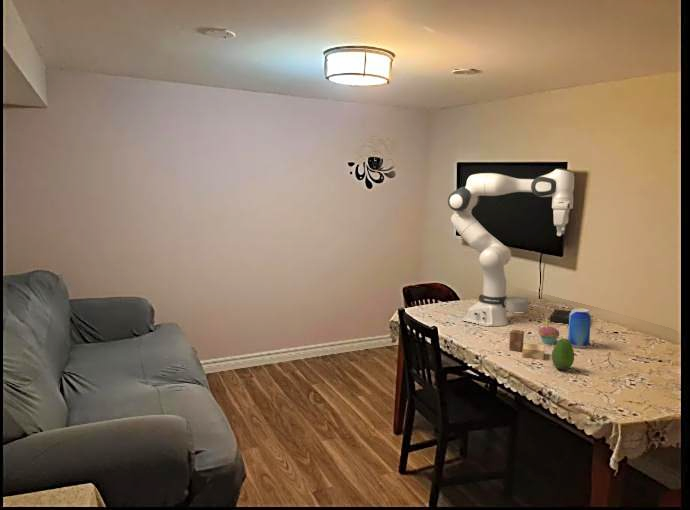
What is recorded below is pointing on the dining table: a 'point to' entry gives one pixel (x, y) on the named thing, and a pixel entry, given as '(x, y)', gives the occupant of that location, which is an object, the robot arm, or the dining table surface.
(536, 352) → the oak block
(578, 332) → the beer can
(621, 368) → the dining table surface
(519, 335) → the walnut block
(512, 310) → the ramekin
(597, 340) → the dining table surface
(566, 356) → the avocado
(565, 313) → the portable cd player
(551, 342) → the cupcake
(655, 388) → the dining table surface
